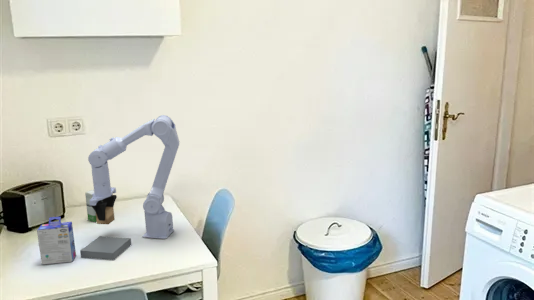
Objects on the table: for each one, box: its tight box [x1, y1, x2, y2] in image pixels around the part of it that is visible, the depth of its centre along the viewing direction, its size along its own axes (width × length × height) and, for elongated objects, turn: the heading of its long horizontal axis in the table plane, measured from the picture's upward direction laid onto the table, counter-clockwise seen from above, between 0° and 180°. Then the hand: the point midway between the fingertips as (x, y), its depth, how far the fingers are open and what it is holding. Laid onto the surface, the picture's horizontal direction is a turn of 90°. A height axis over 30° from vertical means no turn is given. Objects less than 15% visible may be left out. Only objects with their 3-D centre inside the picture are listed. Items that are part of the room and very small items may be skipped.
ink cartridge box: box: [36, 216, 77, 265], centre depth 152 cm, size 10×6×14 cm, turn 101°
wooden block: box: [96, 207, 116, 225], centre depth 170 cm, size 4×4×5 cm
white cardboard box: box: [84, 189, 97, 223], centre depth 189 cm, size 9×5×12 cm, turn 143°
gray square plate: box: [79, 235, 132, 261], centre depth 160 cm, size 12×12×3 cm
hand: (105, 217), depth 170 cm, fingers closed on wooden block, 4 cm apart
